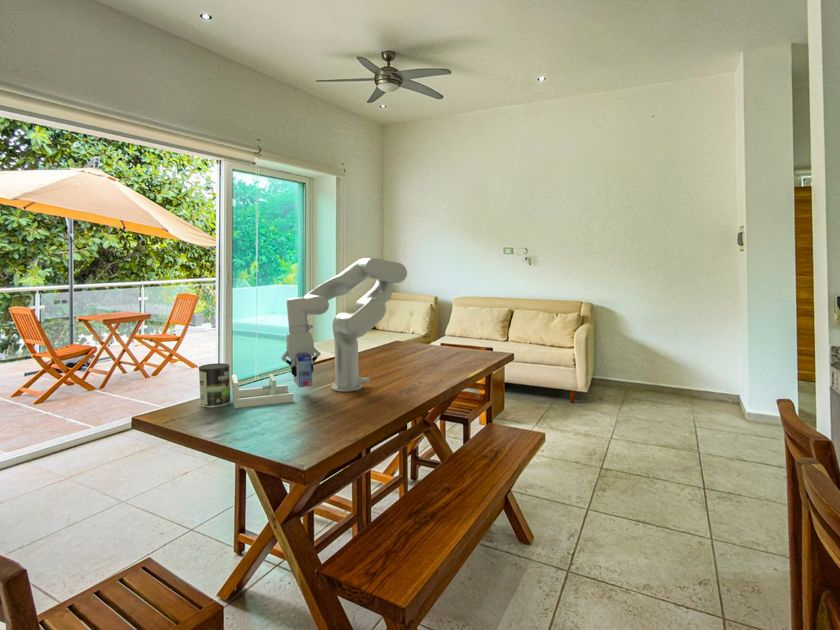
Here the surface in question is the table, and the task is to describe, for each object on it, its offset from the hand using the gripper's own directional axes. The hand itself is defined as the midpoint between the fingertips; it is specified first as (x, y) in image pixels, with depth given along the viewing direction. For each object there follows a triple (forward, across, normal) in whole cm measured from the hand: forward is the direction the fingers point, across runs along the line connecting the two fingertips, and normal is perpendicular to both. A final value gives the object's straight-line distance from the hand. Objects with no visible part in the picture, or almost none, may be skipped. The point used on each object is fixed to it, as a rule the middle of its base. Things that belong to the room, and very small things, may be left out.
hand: (302, 374), depth 180 cm
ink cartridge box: (+4, 0, 0) cm, 4 cm away
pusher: (+7, +13, 0) cm, 15 cm away
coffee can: (+7, +32, -1) cm, 33 cm away
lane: (+7, +15, 0) cm, 17 cm away
